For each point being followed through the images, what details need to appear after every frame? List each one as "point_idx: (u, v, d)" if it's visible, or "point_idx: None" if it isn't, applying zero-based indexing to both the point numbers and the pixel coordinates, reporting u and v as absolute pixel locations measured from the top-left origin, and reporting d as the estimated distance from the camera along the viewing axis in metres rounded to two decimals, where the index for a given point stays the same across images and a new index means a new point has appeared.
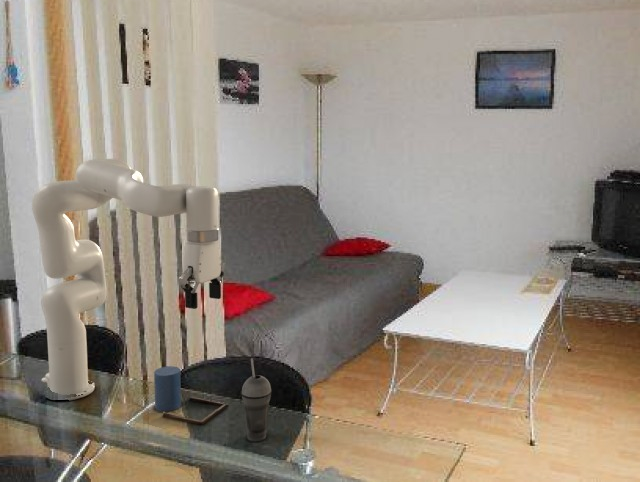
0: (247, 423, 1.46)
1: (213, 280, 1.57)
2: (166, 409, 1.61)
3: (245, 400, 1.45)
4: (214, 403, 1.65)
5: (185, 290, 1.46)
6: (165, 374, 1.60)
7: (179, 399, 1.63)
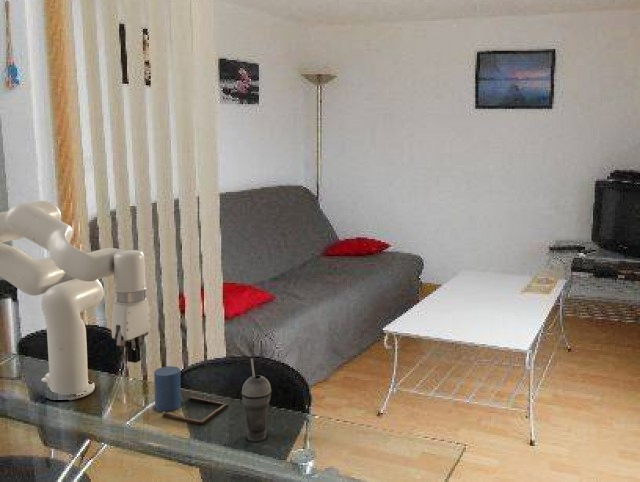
0: (247, 423, 1.46)
1: None
2: (166, 409, 1.61)
3: (245, 400, 1.45)
4: (214, 403, 1.65)
5: (126, 346, 1.63)
6: (165, 374, 1.60)
7: (179, 399, 1.63)
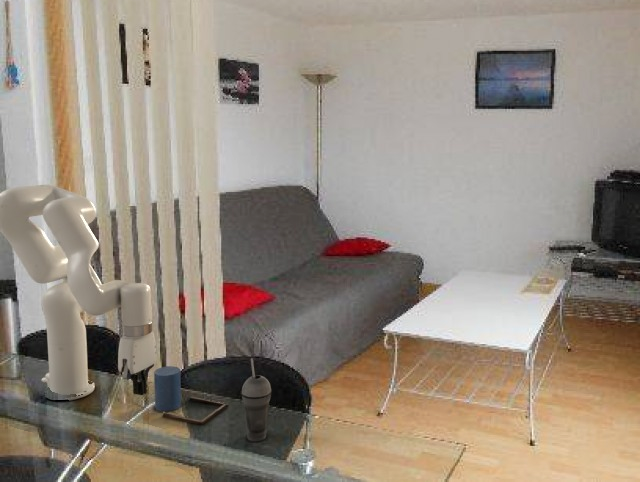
0: (247, 423, 1.46)
1: None
2: (166, 409, 1.61)
3: (245, 400, 1.45)
4: (214, 403, 1.65)
5: (132, 379, 1.64)
6: (165, 374, 1.60)
7: (179, 399, 1.63)
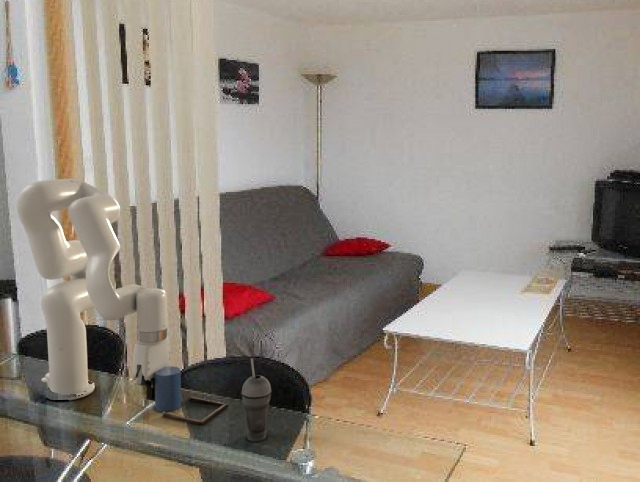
0: (247, 423, 1.46)
1: None
2: (166, 409, 1.61)
3: (245, 400, 1.45)
4: (214, 403, 1.65)
5: (146, 385, 1.63)
6: (165, 374, 1.60)
7: (179, 399, 1.63)
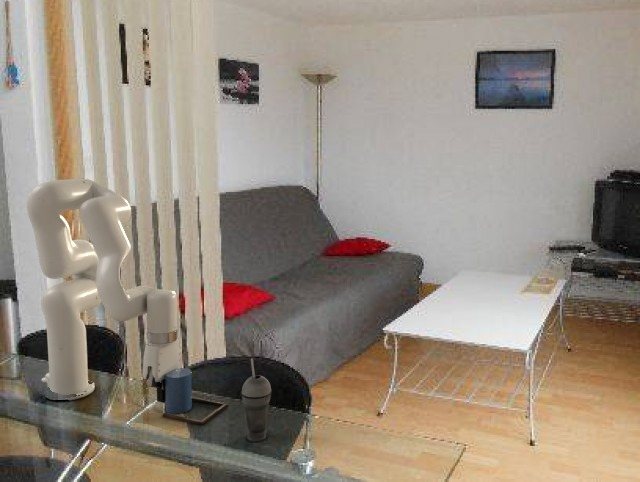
0: (247, 423, 1.46)
1: None
2: (177, 411, 1.60)
3: (245, 400, 1.45)
4: (214, 403, 1.65)
5: (156, 387, 1.62)
6: (176, 376, 1.59)
7: (190, 401, 1.62)
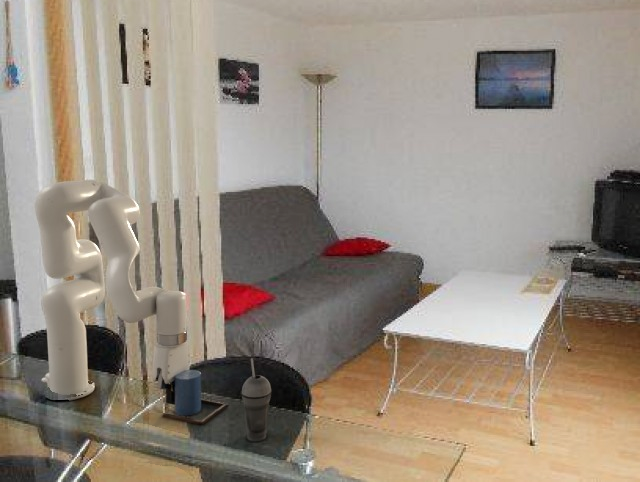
0: (247, 423, 1.46)
1: None
2: (186, 413, 1.59)
3: (245, 400, 1.45)
4: (214, 403, 1.65)
5: (166, 389, 1.61)
6: (185, 378, 1.58)
7: (199, 403, 1.61)
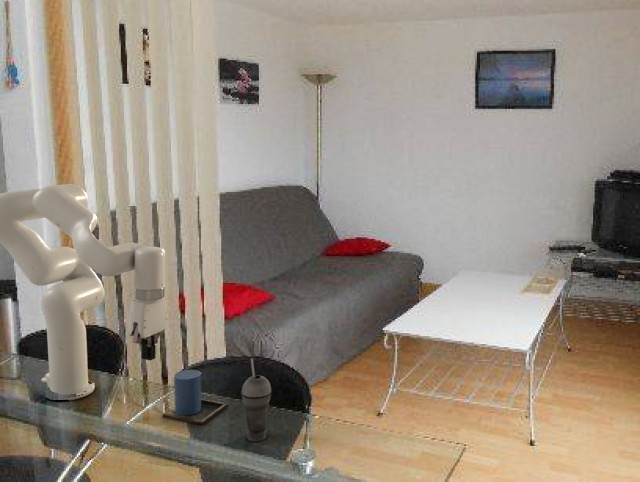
0: (247, 423, 1.46)
1: None
2: (186, 413, 1.59)
3: (245, 400, 1.45)
4: (214, 403, 1.65)
5: (142, 344, 1.61)
6: (185, 378, 1.58)
7: (199, 403, 1.61)
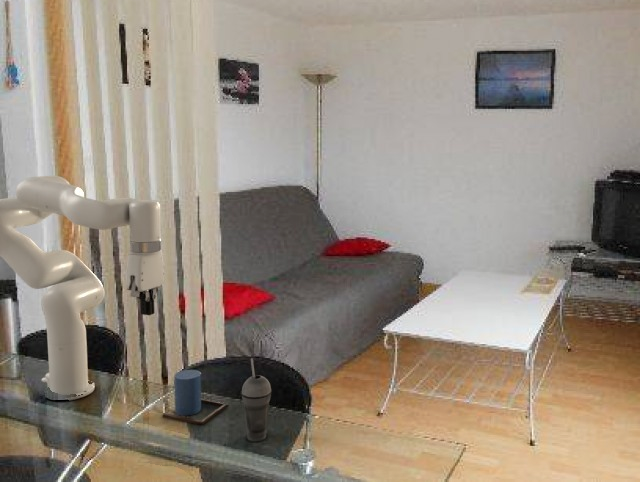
0: (247, 423, 1.46)
1: None
2: (186, 413, 1.59)
3: (245, 400, 1.45)
4: (214, 403, 1.65)
5: (140, 298, 1.60)
6: (185, 378, 1.58)
7: (199, 403, 1.61)
